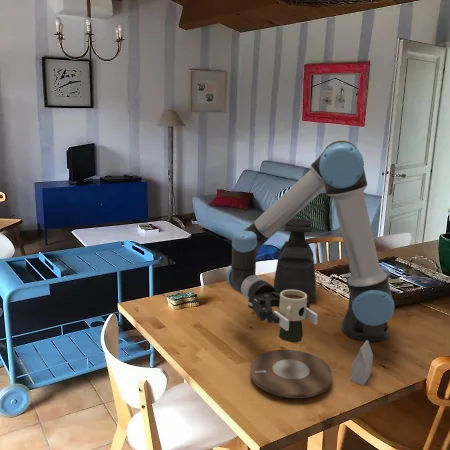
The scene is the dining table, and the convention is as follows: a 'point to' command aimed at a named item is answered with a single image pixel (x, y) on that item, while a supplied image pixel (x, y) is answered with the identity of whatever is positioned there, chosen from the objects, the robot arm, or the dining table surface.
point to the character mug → (293, 314)
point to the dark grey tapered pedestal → (296, 261)
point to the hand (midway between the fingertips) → (302, 322)
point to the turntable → (291, 373)
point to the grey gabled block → (362, 364)
